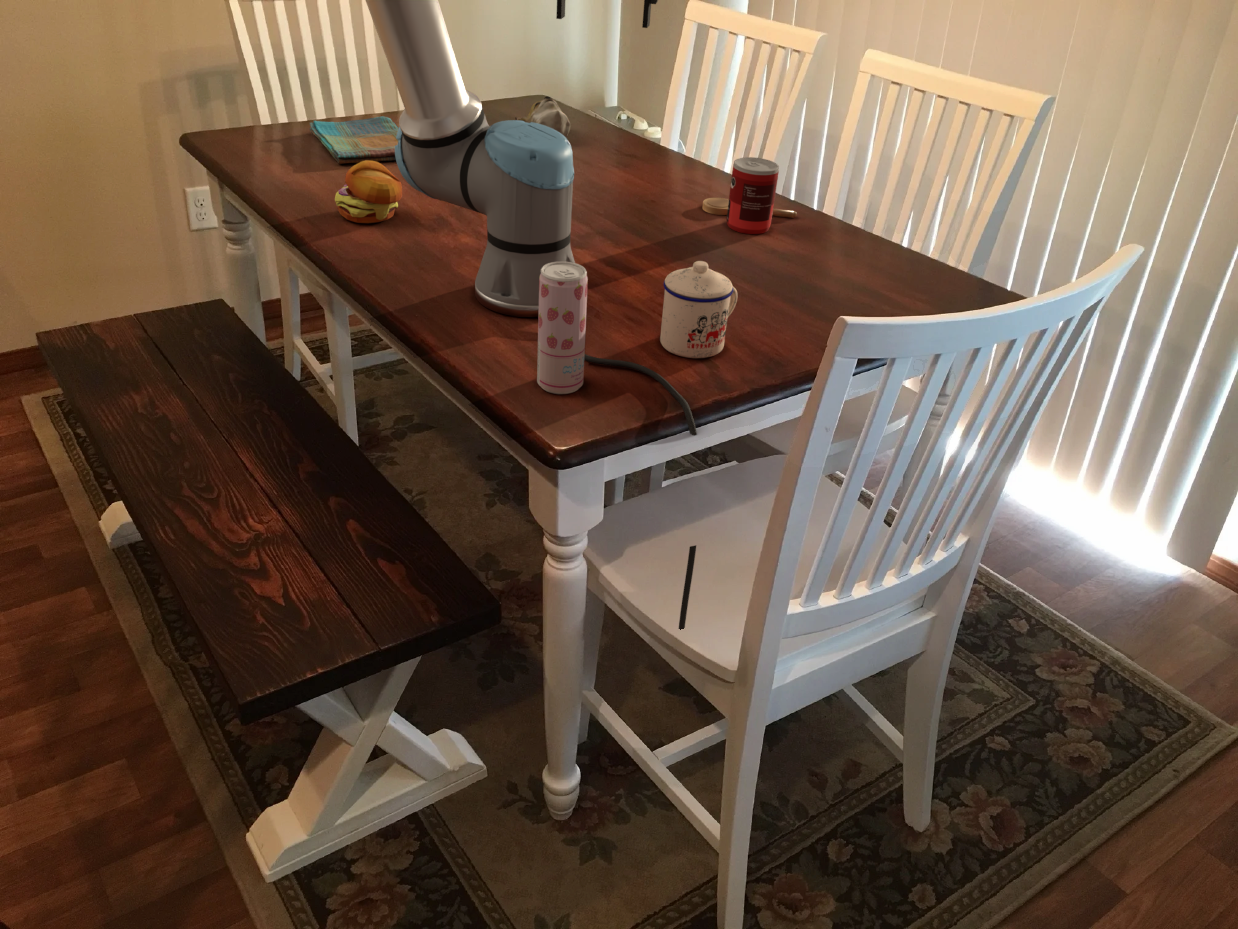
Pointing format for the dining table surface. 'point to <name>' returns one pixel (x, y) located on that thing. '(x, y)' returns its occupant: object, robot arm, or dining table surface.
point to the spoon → (721, 207)
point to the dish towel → (358, 139)
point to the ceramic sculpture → (548, 116)
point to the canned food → (752, 195)
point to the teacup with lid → (696, 311)
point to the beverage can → (561, 327)
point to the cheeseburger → (368, 193)
